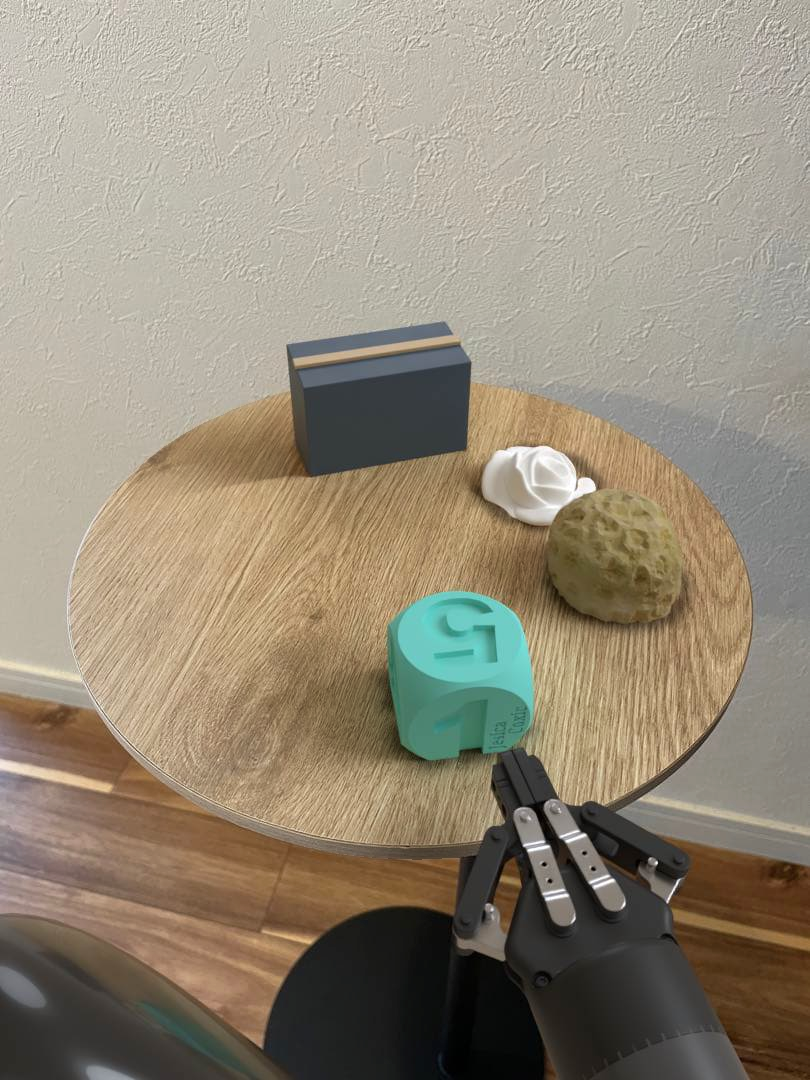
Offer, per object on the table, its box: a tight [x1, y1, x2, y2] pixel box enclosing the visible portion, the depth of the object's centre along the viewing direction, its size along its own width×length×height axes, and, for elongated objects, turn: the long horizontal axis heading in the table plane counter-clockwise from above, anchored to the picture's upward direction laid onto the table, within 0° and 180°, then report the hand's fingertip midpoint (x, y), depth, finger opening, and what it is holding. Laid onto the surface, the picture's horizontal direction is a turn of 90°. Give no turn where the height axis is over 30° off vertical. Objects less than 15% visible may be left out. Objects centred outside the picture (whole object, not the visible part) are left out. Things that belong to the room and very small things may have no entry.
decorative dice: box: [386, 590, 535, 761], centre depth 62 cm, size 8×8×8 cm
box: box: [286, 321, 473, 478], centre depth 83 cm, size 14×7×10 cm, turn 106°
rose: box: [481, 445, 597, 527], centre depth 80 cm, size 10×4×10 cm
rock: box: [547, 487, 685, 625], centre depth 71 cm, size 10×11×10 cm
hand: (508, 758), depth 54 cm, fingers closed
